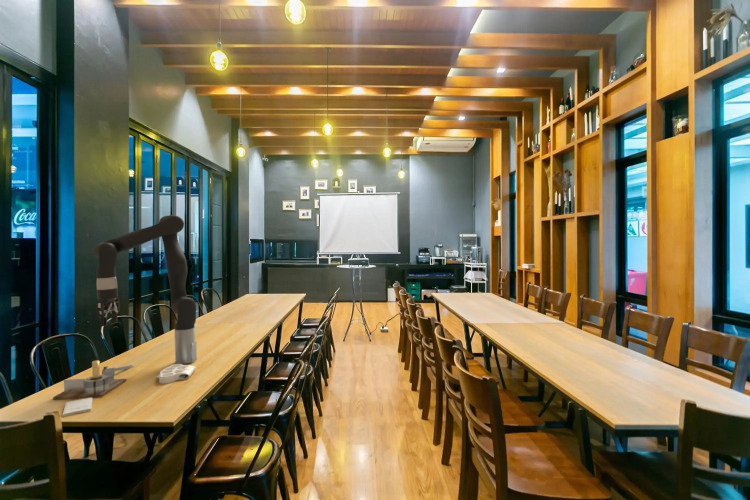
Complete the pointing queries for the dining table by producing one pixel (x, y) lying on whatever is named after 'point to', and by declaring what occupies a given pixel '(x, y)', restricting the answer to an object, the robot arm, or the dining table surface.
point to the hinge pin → (95, 370)
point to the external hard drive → (77, 406)
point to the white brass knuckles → (175, 373)
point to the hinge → (89, 384)
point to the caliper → (116, 368)
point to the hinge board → (81, 394)
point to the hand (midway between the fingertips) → (109, 323)
